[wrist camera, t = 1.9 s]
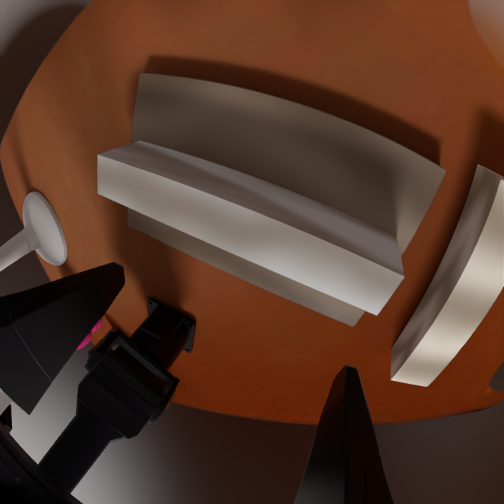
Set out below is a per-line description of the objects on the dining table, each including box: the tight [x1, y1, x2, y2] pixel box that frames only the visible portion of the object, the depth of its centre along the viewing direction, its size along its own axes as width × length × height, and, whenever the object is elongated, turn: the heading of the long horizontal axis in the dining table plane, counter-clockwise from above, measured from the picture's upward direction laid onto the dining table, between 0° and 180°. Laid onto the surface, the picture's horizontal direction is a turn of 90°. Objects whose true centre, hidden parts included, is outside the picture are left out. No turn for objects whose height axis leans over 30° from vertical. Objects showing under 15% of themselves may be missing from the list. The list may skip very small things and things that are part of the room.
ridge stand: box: [97, 73, 446, 327], centre depth 18 cm, size 14×22×6 cm, turn 76°
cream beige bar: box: [391, 164, 504, 387], centre depth 16 cm, size 18×4×4 cm, turn 175°
